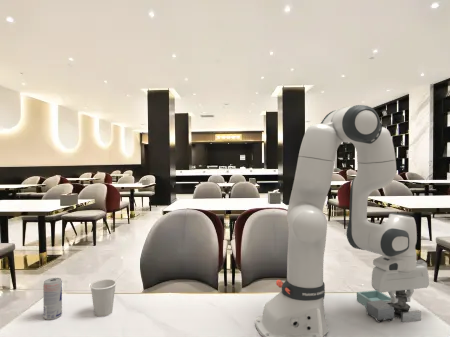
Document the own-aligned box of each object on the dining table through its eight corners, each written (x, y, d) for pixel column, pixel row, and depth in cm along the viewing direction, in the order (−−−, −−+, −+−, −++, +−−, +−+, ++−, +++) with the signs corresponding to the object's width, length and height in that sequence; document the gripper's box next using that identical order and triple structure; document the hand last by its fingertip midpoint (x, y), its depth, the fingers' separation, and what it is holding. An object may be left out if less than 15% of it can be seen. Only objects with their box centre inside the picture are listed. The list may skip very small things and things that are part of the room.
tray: (373, 311, 108) (373, 302, 108) (356, 300, 117) (356, 292, 117) (395, 308, 110) (395, 300, 110) (377, 298, 119) (377, 290, 119)
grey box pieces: (381, 325, 99) (381, 311, 99) (363, 312, 107) (363, 299, 107) (420, 320, 102) (420, 306, 102) (400, 308, 111) (400, 295, 111)
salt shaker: (413, 320, 102) (413, 284, 102) (393, 318, 103) (394, 282, 103) (406, 312, 108) (407, 277, 108) (388, 310, 109) (388, 276, 109)
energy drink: (62, 311, 107) (62, 276, 107) (60, 318, 102) (60, 282, 102) (45, 314, 105) (45, 278, 105) (42, 321, 100) (42, 284, 100)
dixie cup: (86, 312, 106) (86, 283, 106) (109, 304, 112) (109, 277, 112) (96, 321, 100) (96, 290, 100) (120, 312, 106) (120, 283, 106)
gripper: (418, 256, 111) (418, 295, 111) (368, 260, 106) (368, 300, 106) (434, 262, 105) (433, 303, 105) (382, 266, 100) (381, 309, 100)
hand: (400, 302), depth 105 cm, fingers closed on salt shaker, 3 cm apart
